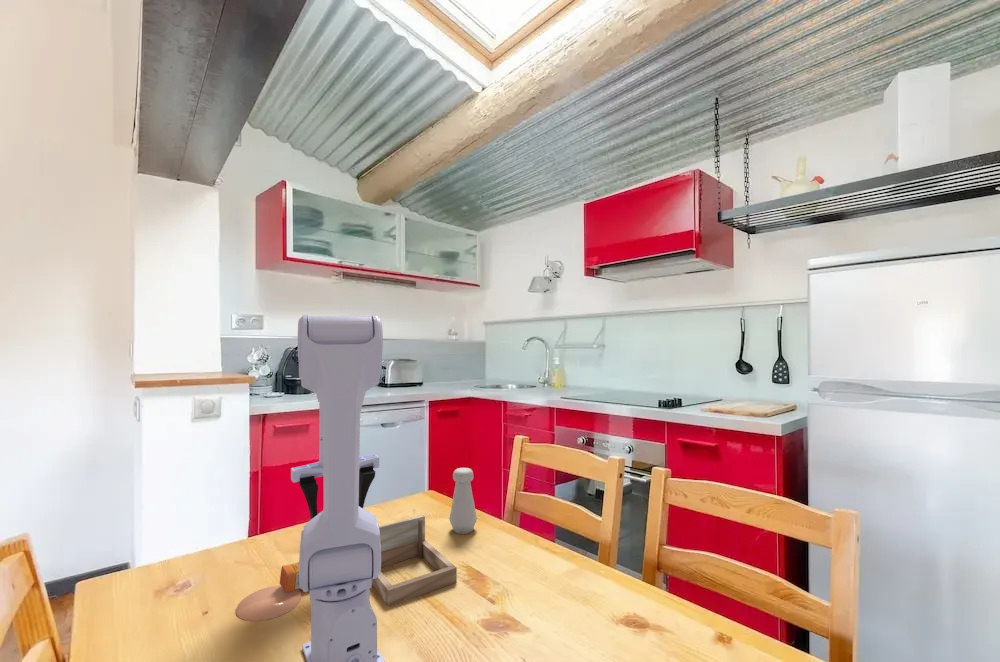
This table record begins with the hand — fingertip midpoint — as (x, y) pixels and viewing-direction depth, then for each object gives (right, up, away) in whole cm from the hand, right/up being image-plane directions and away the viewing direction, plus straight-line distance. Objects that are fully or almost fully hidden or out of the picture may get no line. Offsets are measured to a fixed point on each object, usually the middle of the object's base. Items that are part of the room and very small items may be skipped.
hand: (337, 515), depth 79 cm
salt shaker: (+21, -11, +18) cm, 29 cm away
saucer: (-7, -10, -9) cm, 15 cm away
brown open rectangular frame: (+12, -10, -1) cm, 16 cm away
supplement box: (-7, -8, -6) cm, 12 cm away
